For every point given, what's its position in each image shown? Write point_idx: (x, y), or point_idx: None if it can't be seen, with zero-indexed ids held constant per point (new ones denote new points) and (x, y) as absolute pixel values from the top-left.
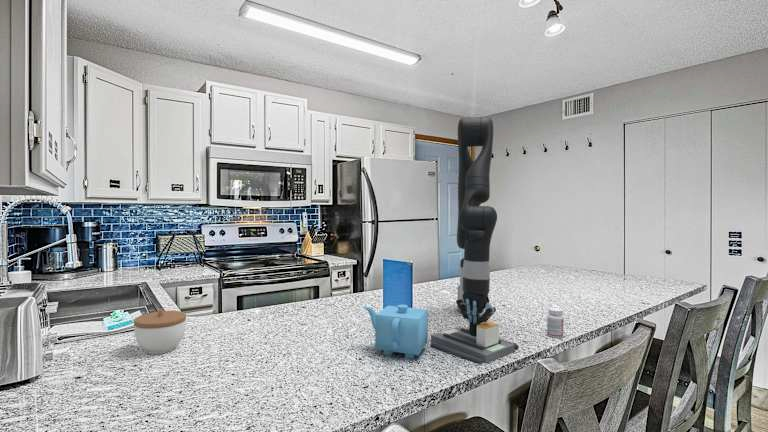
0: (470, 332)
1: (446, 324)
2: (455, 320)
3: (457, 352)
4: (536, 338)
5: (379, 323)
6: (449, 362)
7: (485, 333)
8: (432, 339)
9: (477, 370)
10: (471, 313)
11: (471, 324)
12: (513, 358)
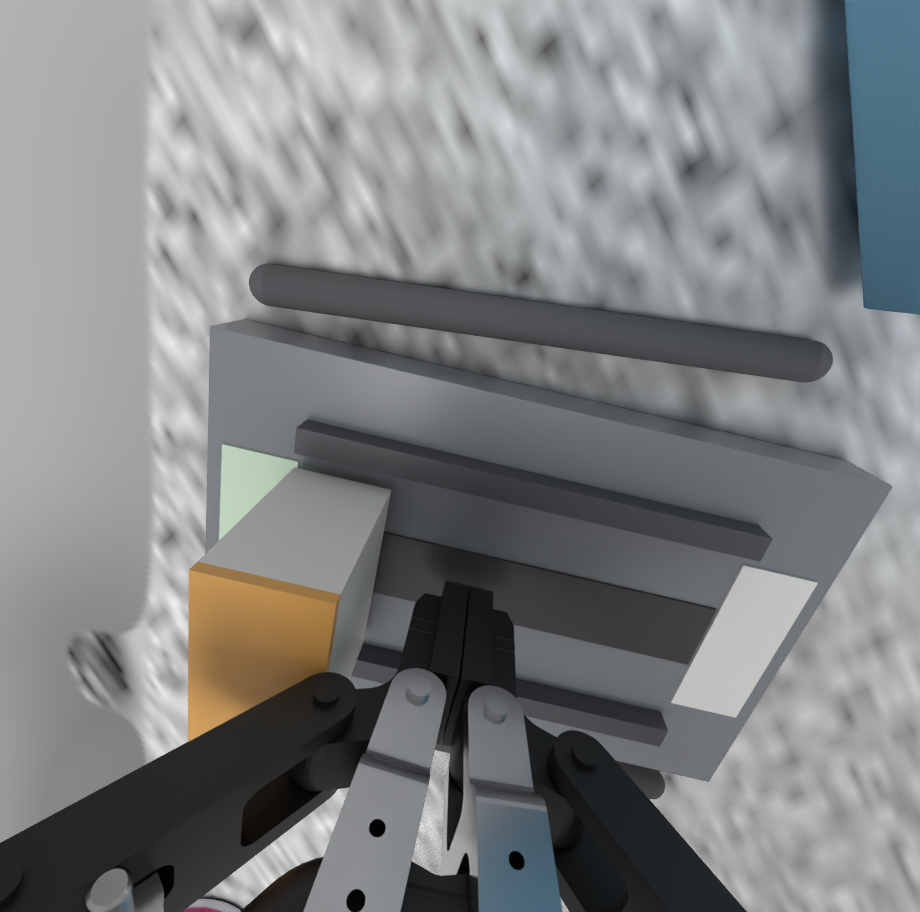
0: (488, 604)
1: (841, 827)
2: (803, 906)
3: (494, 300)
4: (259, 855)
5: None
6: (485, 98)
7: (231, 532)
8: (842, 464)
9: (207, 113)
10: (468, 813)
11: (474, 668)
12: (172, 527)
